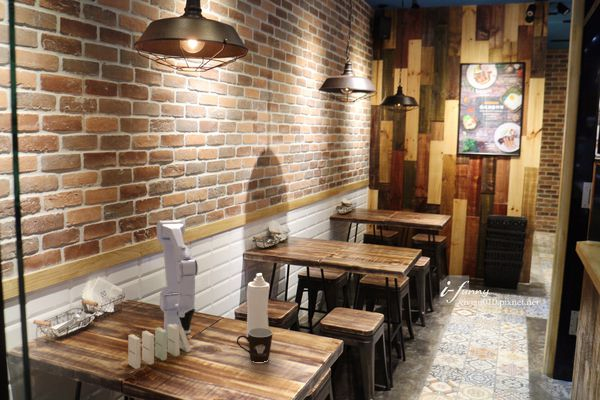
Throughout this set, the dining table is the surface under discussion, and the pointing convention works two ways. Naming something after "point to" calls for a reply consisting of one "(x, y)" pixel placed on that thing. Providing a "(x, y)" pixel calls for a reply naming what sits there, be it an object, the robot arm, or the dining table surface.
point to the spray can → (257, 303)
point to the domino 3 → (161, 343)
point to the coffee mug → (258, 344)
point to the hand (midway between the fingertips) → (185, 329)
